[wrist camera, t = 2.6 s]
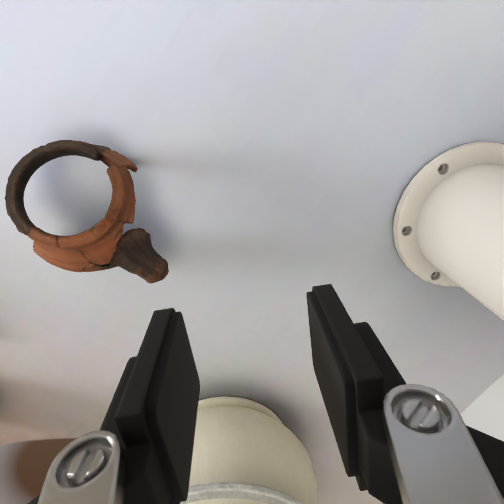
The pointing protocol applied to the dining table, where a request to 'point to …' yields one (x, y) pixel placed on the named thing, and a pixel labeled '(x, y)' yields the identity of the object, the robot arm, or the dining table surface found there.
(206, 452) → the kettle
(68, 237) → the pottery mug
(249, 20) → the dining table surface
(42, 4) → the dining table surface
